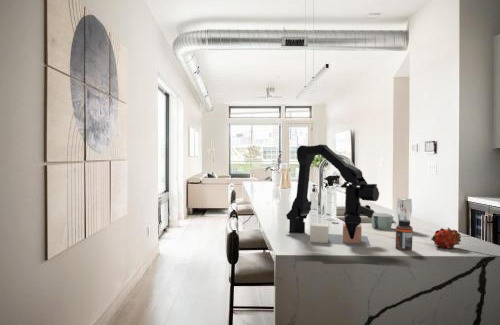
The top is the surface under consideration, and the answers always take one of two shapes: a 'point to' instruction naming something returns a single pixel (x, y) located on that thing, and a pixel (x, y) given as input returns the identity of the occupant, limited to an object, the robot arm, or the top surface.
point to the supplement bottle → (404, 235)
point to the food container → (382, 220)
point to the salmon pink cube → (356, 236)
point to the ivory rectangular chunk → (319, 232)
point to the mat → (339, 240)
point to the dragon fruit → (446, 238)
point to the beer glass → (404, 209)
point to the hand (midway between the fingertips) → (351, 237)
